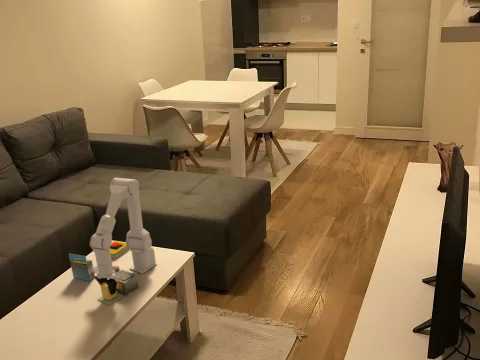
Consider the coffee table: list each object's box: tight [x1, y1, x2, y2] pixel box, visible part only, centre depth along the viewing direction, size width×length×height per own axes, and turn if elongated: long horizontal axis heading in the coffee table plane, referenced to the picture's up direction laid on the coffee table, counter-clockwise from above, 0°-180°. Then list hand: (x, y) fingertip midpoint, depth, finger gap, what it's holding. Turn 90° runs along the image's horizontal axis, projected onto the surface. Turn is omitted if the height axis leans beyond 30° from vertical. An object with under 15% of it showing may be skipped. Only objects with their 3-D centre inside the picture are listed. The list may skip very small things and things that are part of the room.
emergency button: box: [110, 240, 130, 262], centre depth 243 cm, size 9×4×15 cm
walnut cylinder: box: [113, 265, 121, 273], centre depth 219 cm, size 4×4×6 cm
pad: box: [97, 292, 124, 306], centre depth 208 cm, size 7×7×1 cm
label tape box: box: [68, 253, 96, 282], centre depth 222 cm, size 9×4×12 cm, turn 70°
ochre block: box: [99, 282, 118, 300], centre depth 206 cm, size 4×4×6 cm
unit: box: [116, 269, 140, 297], centre depth 213 cm, size 7×9×6 cm
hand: (109, 292), depth 207 cm, fingers closed on ochre block, 4 cm apart
